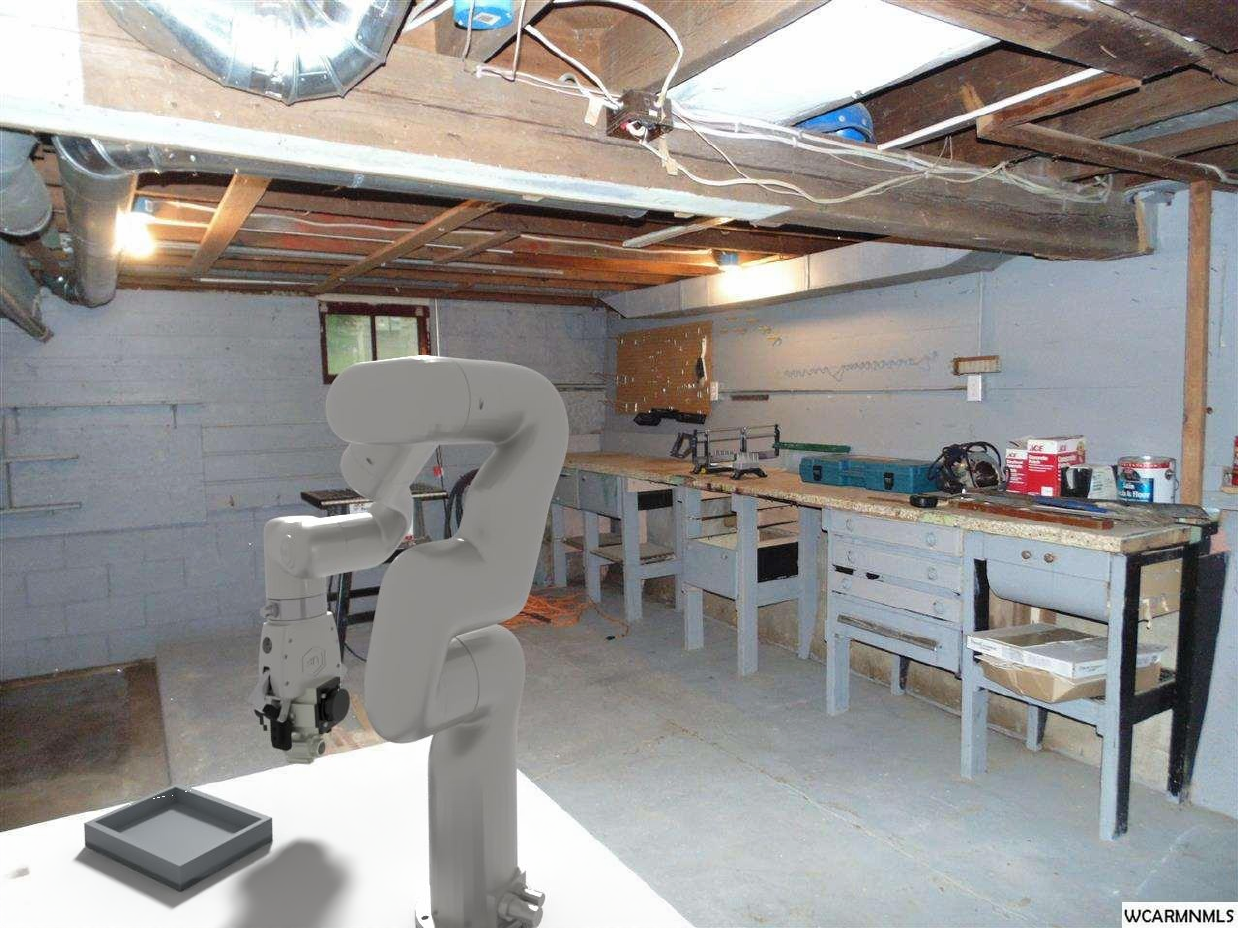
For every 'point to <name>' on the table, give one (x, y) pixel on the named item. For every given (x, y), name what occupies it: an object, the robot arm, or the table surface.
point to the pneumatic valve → (313, 719)
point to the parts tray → (178, 835)
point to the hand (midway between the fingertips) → (302, 738)
